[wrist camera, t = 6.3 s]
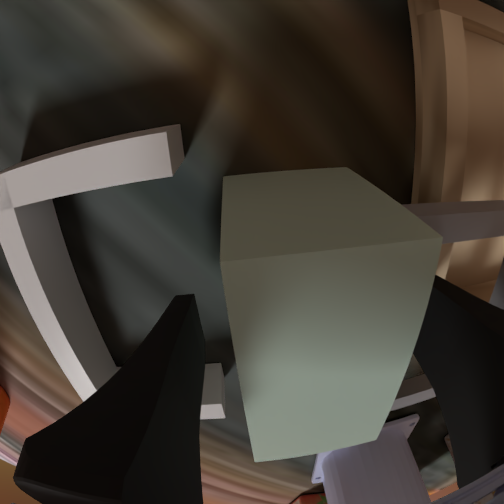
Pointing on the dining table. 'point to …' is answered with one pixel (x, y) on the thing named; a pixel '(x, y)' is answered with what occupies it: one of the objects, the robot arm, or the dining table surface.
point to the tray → (460, 125)
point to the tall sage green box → (332, 301)
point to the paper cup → (3, 406)
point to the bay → (56, 255)
